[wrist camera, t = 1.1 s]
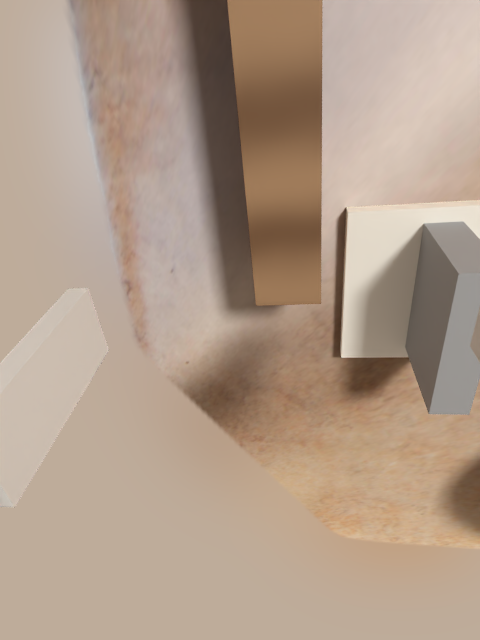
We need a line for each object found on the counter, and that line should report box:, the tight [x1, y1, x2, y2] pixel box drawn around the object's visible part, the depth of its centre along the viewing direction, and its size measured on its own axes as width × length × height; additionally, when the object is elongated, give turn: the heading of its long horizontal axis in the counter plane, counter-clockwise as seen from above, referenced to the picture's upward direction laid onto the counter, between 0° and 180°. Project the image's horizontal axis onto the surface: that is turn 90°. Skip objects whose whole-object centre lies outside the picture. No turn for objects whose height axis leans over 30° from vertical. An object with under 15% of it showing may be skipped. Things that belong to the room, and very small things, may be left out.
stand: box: [340, 200, 480, 415], centre depth 27 cm, size 12×12×8 cm
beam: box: [227, 0, 322, 306], centre depth 23 cm, size 22×4×6 cm, turn 6°
